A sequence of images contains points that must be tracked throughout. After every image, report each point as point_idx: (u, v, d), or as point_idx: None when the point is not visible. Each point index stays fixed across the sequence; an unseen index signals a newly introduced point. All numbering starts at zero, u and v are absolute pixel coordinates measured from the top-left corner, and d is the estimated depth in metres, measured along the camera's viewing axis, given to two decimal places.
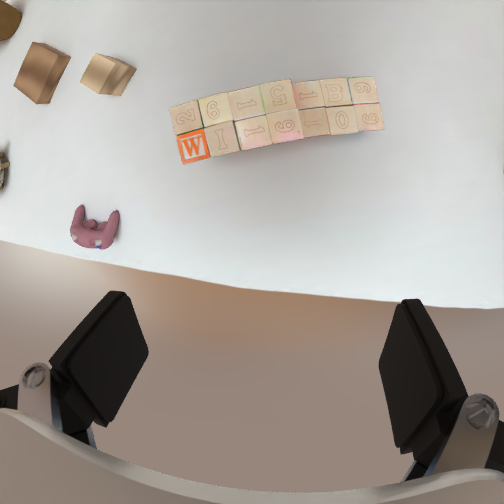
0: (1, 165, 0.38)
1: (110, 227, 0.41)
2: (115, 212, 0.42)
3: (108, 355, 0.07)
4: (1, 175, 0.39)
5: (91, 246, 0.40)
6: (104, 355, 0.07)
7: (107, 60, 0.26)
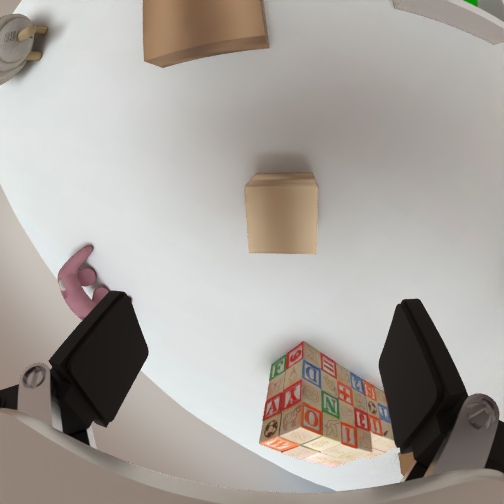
0: (27, 55, 0.17)
1: None
2: None
3: (108, 355, 0.07)
4: (17, 69, 0.17)
5: (79, 317, 0.29)
6: (104, 355, 0.07)
7: (314, 231, 0.19)
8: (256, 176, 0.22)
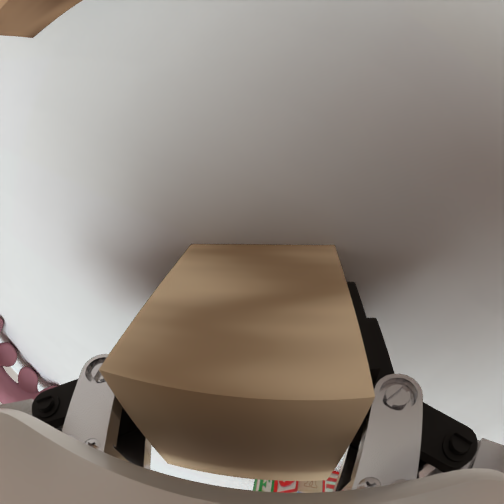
0: None
1: None
2: None
3: None
4: None
5: None
6: None
7: (331, 463, 0.05)
8: (180, 268, 0.08)
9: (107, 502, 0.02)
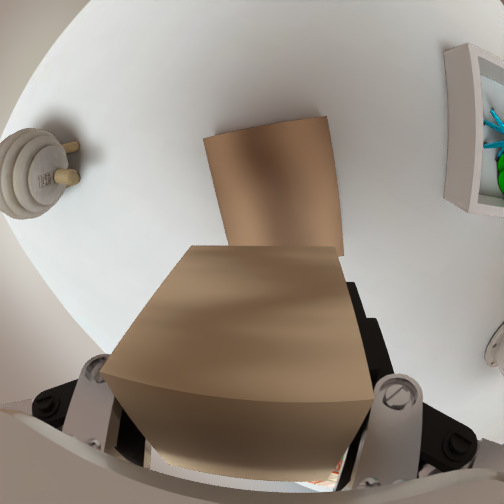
0: (66, 185, 0.25)
1: None
2: None
3: None
4: None
5: None
6: None
7: (331, 464, 0.05)
8: (180, 270, 0.08)
9: (107, 502, 0.02)
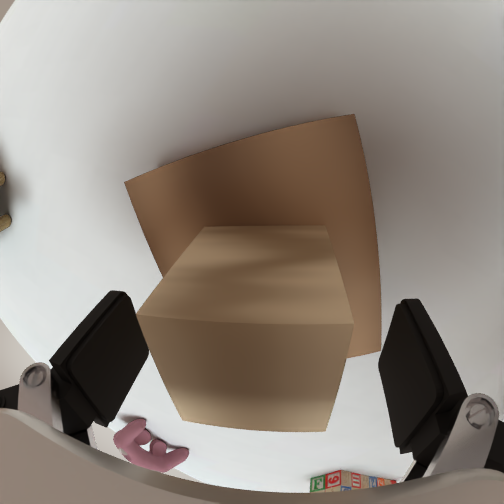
0: None
1: None
2: None
3: (109, 355, 0.07)
4: None
5: None
6: (105, 355, 0.07)
7: (327, 405, 0.07)
8: (197, 244, 0.10)
9: (107, 502, 0.02)
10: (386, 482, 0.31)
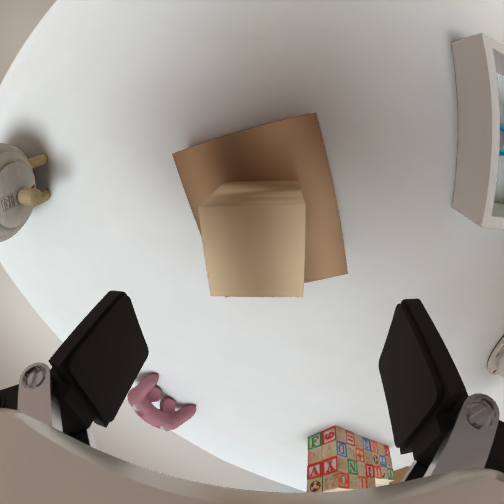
0: None
1: None
2: (195, 411, 0.36)
3: (108, 355, 0.07)
4: None
5: None
6: (104, 355, 0.07)
7: (300, 267, 0.14)
8: (221, 188, 0.16)
9: (107, 502, 0.02)
10: (379, 446, 0.39)
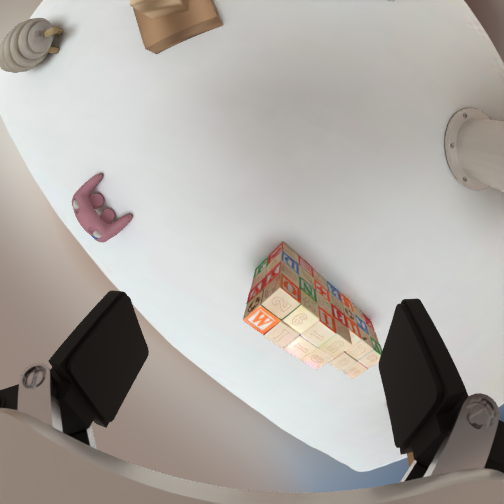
0: (49, 49, 0.25)
1: (117, 229, 0.37)
2: (130, 217, 0.39)
3: (108, 355, 0.07)
4: (41, 59, 0.26)
5: (88, 230, 0.36)
6: (104, 355, 0.07)
7: None
8: None
9: (107, 502, 0.02)
10: (355, 307, 0.41)
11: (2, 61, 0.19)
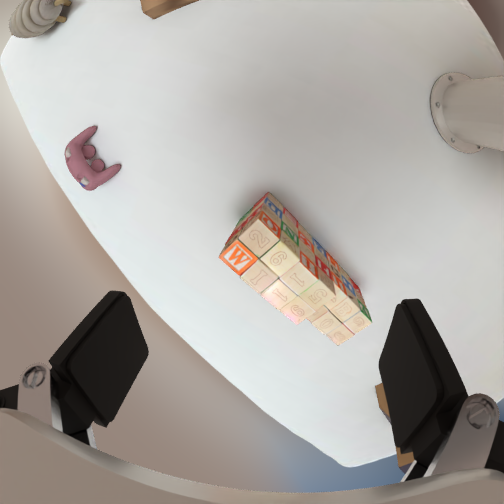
0: (57, 17, 0.23)
1: (104, 177, 0.36)
2: (118, 167, 0.37)
3: (108, 355, 0.07)
4: (49, 26, 0.24)
5: (76, 178, 0.34)
6: (104, 355, 0.07)
7: None
8: None
9: (107, 502, 0.02)
10: (342, 270, 0.40)
11: (13, 26, 0.18)
